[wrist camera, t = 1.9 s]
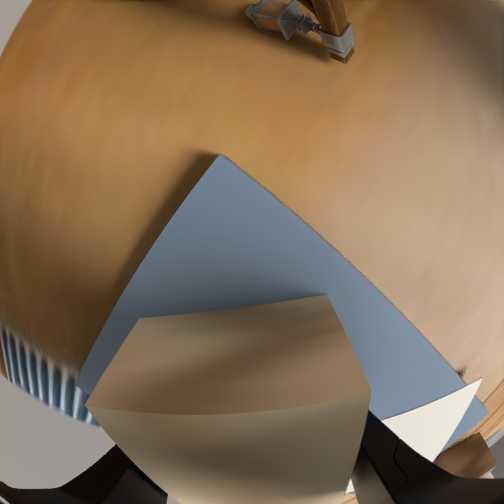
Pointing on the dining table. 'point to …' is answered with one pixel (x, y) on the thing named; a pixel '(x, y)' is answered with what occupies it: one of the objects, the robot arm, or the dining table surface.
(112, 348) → the board
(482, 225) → the dining table surface
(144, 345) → the beech block
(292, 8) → the wooden post with brackets
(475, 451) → the walnut block
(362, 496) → the robot arm
